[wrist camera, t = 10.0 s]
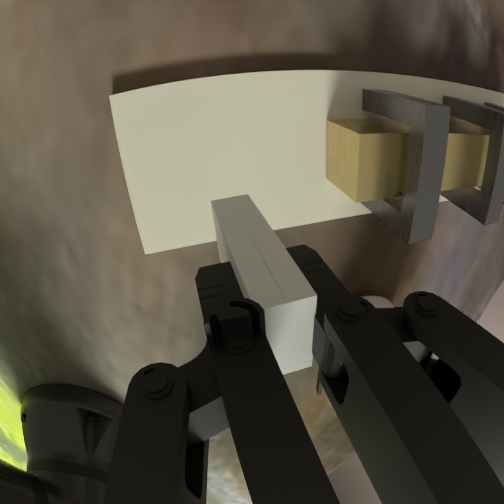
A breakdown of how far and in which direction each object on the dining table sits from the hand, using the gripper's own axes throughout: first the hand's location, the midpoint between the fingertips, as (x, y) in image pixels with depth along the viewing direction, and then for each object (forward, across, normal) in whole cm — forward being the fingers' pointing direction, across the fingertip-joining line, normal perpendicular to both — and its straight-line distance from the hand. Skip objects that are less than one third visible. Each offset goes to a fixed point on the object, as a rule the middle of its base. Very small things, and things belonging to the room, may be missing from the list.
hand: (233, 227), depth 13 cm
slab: (+9, +12, 0) cm, 15 cm away
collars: (+7, +19, 0) cm, 21 cm away
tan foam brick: (+7, +18, 0) cm, 19 cm away
